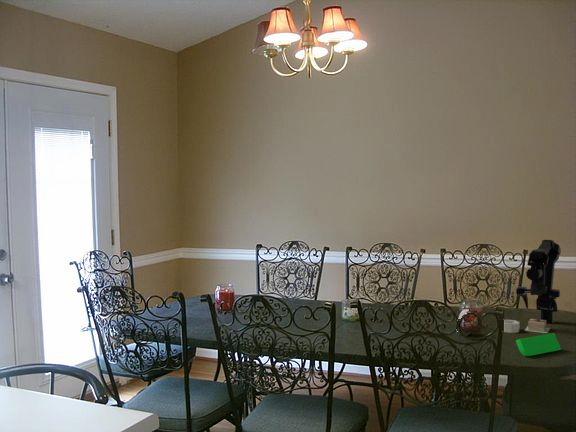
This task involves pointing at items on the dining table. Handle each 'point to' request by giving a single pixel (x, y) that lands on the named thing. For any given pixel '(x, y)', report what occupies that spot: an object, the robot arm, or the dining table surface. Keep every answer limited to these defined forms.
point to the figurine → (463, 313)
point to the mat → (537, 331)
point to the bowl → (511, 326)
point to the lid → (537, 325)
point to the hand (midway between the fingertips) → (537, 309)
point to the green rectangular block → (538, 344)
